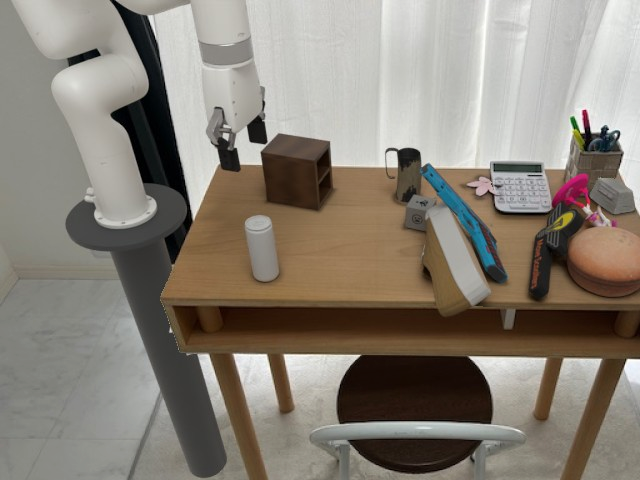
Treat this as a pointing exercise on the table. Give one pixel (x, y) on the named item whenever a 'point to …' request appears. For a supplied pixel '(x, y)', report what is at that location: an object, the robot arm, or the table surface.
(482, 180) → the flower
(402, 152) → the mug
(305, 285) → the table surface
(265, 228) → the beverage can
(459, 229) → the sneaker
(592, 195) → the mineral specimen
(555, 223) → the decorative sign
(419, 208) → the dice cube
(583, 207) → the figurine
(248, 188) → the table surface
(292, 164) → the divided wooden organizer
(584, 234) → the round sponge cake
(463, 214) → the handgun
